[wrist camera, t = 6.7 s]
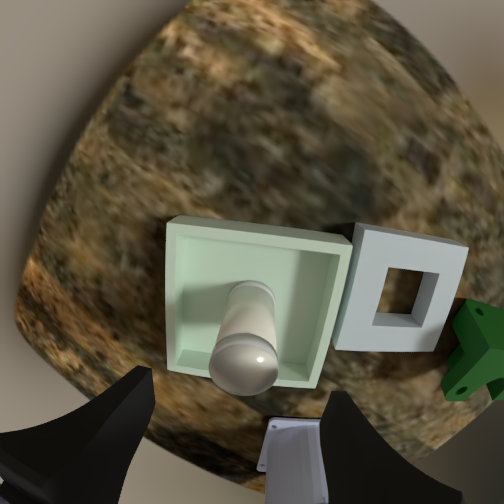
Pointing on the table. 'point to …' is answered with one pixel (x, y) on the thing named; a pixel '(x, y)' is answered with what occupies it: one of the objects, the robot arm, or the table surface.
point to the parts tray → (260, 269)
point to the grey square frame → (371, 284)
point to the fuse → (246, 341)
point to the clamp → (476, 352)
